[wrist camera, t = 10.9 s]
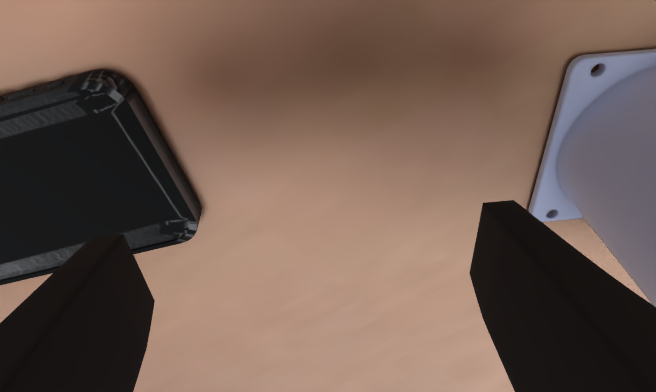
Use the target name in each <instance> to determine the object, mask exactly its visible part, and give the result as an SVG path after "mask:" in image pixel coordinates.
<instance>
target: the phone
mask: <svg viewBox="0 0 656 392" xmlns="http://www.w3.org/2000/svg"><path fill="white" fill-rule="evenodd" d="M200 216H201V206H200V203H199V201H198V199H197V197H196V196H195V194H194V192H193V190H192V188H191V186H190V185H189V183H188V181H187V179H186V177H185V176H184V174H183V172H182V170H181V168H180V167H179V165H178V163H177V161H176V159H175V157H174V156H173V154H172V152H171V150H170V148H169V147H168V145H167V143H166V141H165V139H164V138H163V136H162V134H161V132H160V130H159V128H158V127H157V125H156V123H155V121H154V119H153V118H152V116H151V114H150V112H149V110H148V109H147V107H146V105H145V103H144V101H143V99H142V98H141V96H140V94H139V92H138V91H137V89H136V88H135V87H134V85H133V84H132V83H131V82H130V81H128V80H127V79H126V78H125V77H123V76H121V75H119V74H117V73H115V72H112V71H107V70H94V71H89V72H86V73H82V74H79V75H75V76H71V77H68V78H64V79H61V80H57V81H54V82H50V83H46V84H43V85H39V86H36V87H32V88H29V89H25V90H21V91H18V92H14V93H11V94H7V95H3V96H0V285H3V284H7V283H12V282H16V281H20V280H25V279H29V278H33V277H38V276H42V275H46V274H51V273H54V272H55V271H56V270H57V269H58V268H59V267H60V266H61V265H63V264H64V263H65V262H66V261H67V260H68V259H69V258H70V257H71V256H72V255H73V254H74V253H75V252H76V251H77V250H79V249H80V248H81V247H82V246H83V245H84V244H85V243H86V242H88V241H89V240H90V239H91V238H92V237H95V236H106V235H118V234H124V236H125V238H126V240H127V242H128V245H129V247H130V249H131V251H132V253H133V254H137V253H141V252H145V251H150V250H154V249H158V248H163V247H167V246H171V245H176V244H180V243H183V242H186V241H188V240H190V239H191V238H192V237H193V236H194V235H195V233H196V231H197V228H198V224H199V220H200Z"/></svg>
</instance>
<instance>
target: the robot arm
mask: <svg viewBox="0 0 656 392" xmlns="http://www.w3.org/2000/svg"><path fill="white" fill-rule="evenodd" d="M596 64H600V66H599V67H598V69H597V70H596V71H595V72H592V73H591V70H592V68H593V67H594V66H595V65H596ZM551 210H552V211H551ZM549 211H551V212H549ZM548 212H549V213H548ZM582 218H584V219H585V220H586V221H587V223H588V224H589V225H590V226H591V228H592V229H593V230H594V231H595V233H596V234H597V235H598V236H599V238H600V239H601V240H602V242H603V243H604V244H605V245H606V247H607V248H608V249H609V250H610V252H611V253H612V254H613V255H614V257H615V258H616V259H617V261H618V262H619V263H620V264H621V266H622V267H623V268H624V269H625V271H626V272H627V273H628V274H629V276H630V277H631V278H632V279H633V281H634V282H635V283H636V285H637V286H638V287H639V288H640V290H641V291H642V292H643V293H644V295H645V296H646V297H647V298H648V300H649V301H650V302H651V304H650V303H649V302H647V301H646V300H644V299H643V298H642V297H640V296H639V295H637V294H636V293H634V292H633V291H631V290H630V289H629V288H627V287H626V286H624V285H623V284H622V283H620V282H619V281H618V280H616V279H615V278H613V277H612V276H611V275H609V274H608V273H607V272H605V271H604V270H603V269H601V268H600V267H599V266H597V265H596V264H595V263H593V262H592V261H591V260H589V259H588V258H587V257H585V256H584V255H583V254H582V253H580V252H579V251H578V250H576V249H575V248H574V247H572V246H571V245H570V244H569V243H567V242H566V241H565V240H564V239H562V238H561V237H560V236H559V235H557V234H556V233H555V232H553V231H552V230H551V229H550V228H548V227H547V226H546V225H545V224H543V223H542V222H547V221H558V220H570V219H582ZM470 276H471V280H472V283H473V287H474V290H475V294H476V297H477V301H478V304H479V307H480V310H481V313H482V317H483V319H484V322H485V324H486V327H487V329H488V331H489V334H490V336H491V338H492V340H493V343H494V345H495V347H496V350H497V352H498V354H499V357H500V359H501V361H502V363H503V366H504V368H505V370H506V372H507V375H508V377H509V379H510V381H511V384H512V386H513V388H514V391H515V392H656V49H648V50H636V51H624V52H612V53H600V54H588V55H581V56H578V57H577V58H575V59H573V60H572V62H571V63H570V64H569V66H568V68H567V71H566V74H565V78H564V82H563V85H562V89H561V93H560V96H559V100H558V104H557V107H556V111H555V115H554V118H553V122H552V126H551V129H550V133H549V137H548V140H547V144H546V148H545V151H544V155H543V158H542V162H541V166H540V169H539V173H538V177H537V180H536V184H535V188H534V191H533V195H532V199H531V202H530V206H529V210H528V211H527V210H526V209H524V208H523V207H522V206H520V205H519V204H518V203H516V202H515V201H514V200H511V201H500V202H488V203H483V206H482V211H481V217H480V222H479V227H478V232H477V238H476V243H475V248H474V253H473V259H472V264H471V269H470ZM153 308H154V299H153V296H152V294H151V292H150V290H149V288H148V286H147V283H146V281H145V279H144V277H143V275H142V273H141V270H140V268H139V266H138V264H137V262H136V260H135V258H134V255H133V253H132V251H131V249H130V247H129V245H128V242H127V240H126V238H125V236H124V234H118V235H106V236H95V237H92V238H91V239H90V240H89V241H88V242H86V243H85V244H84V245H83V246H82V247H81V248H80V249H79V250H77V251H76V252H75V253H74V254H73V255H72V256H71V257H70V258H69V259H68V260H67V261H66V262H65V263H64V264H63V265H61V266H60V267H59V268H58V269H57V270H56V271H55V272H54V273H53V274H52V275H51V276H50V277H49V278H48V279H47V280H46V281H45V282H44V283H43V284H42V285H41V286H39V287H38V288H37V289H36V290H35V291H34V292H33V293H32V294H31V295H30V296H29V297H28V298H27V299H26V300H25V301H24V302H22V303H21V304H20V305H19V306H18V307H17V308H16V309H15V310H14V311H13V312H12V313H11V314H10V315H9V316H8V317H6V318H5V319H4V320H3V321H2V322H1V323H0V392H133V390H134V387H135V384H136V381H137V378H138V374H139V371H140V368H141V365H142V361H143V358H144V355H145V351H146V348H147V342H148V337H149V332H150V327H151V320H152V314H153Z"/></svg>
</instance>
